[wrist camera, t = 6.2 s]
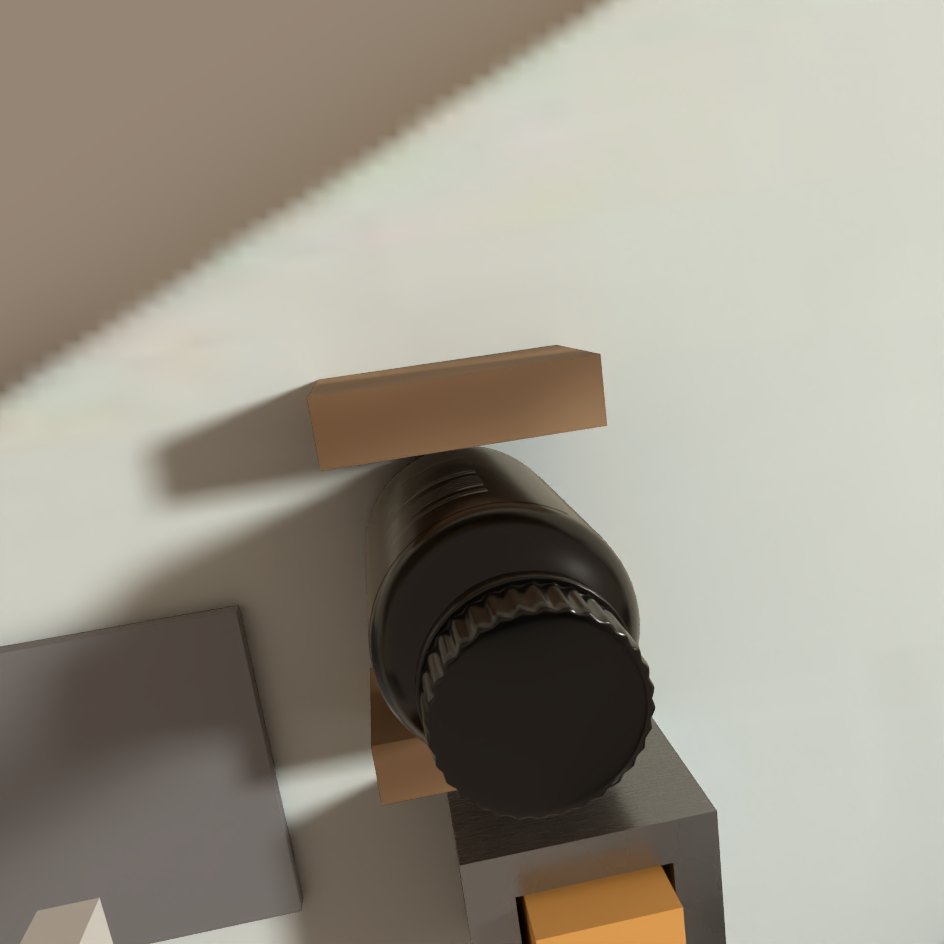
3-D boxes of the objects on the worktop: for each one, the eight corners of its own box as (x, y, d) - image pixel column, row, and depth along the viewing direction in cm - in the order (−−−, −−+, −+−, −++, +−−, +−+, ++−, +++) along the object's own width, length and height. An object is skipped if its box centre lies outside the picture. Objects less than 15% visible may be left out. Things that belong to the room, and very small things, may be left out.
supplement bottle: (363, 630, 27) (360, 875, 15) (367, 439, 26) (368, 551, 14) (553, 628, 28) (685, 857, 16) (566, 444, 27) (721, 552, 15)
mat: (302, 898, 29) (301, 910, 28) (-30, 969, 28) (-39, 984, 27) (238, 605, 26) (236, 611, 26) (-133, 669, 25) (-146, 678, 24)
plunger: (627, 883, 29) (693, 1028, 23) (514, 909, 29) (552, 1062, 23) (617, 783, 28) (683, 907, 22) (500, 807, 28) (536, 940, 22)
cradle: (592, 677, 29) (637, 753, 24) (379, 718, 28) (382, 805, 23) (556, 344, 26) (600, 353, 21) (318, 379, 25) (307, 397, 20)
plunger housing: (663, 886, 31) (731, 1020, 25) (469, 929, 30) (493, 1078, 24) (647, 710, 29) (716, 810, 23) (440, 751, 28) (459, 865, 23)
